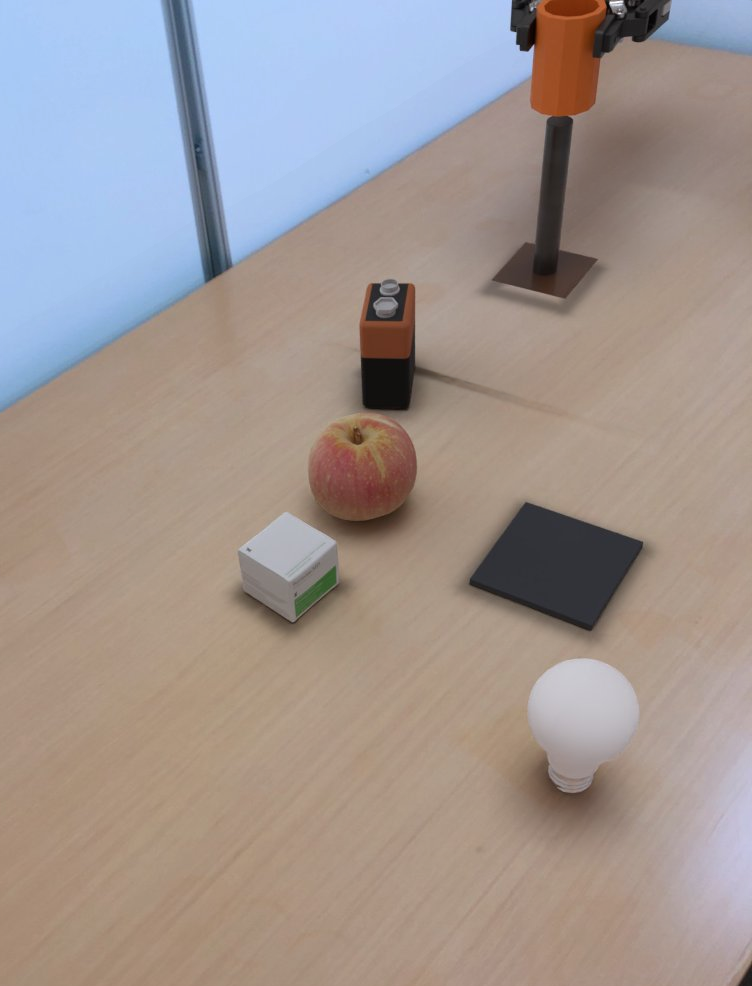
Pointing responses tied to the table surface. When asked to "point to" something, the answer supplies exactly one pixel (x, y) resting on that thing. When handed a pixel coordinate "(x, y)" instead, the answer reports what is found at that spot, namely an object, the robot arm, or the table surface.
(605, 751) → the light bulb
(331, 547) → the small box
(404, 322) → the battery
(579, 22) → the tube
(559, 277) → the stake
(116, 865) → the table surface
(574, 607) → the mat
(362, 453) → the apple
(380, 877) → the table surface
